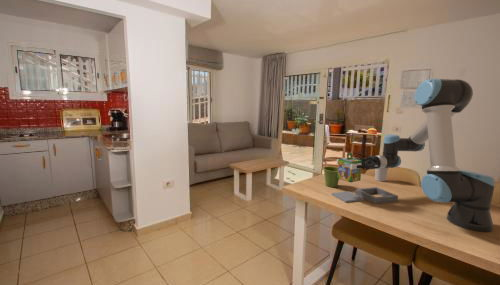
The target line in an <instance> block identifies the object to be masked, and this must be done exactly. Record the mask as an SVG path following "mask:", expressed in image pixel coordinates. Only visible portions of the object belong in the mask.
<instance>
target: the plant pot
mask: <svg viewBox="0 0 500 285" xmlns="http://www.w3.org/2000/svg"><path fill="white" fill-rule="evenodd" d="M322 169H323V172H324V182H325V186H327V187H331V188H337V187H338V185H339V180H340V179H337V174H338V166H337V167H336V166H324V167H322Z"/></svg>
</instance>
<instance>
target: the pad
mask: <svg viewBox="0 0 500 285" xmlns="http://www.w3.org/2000/svg"><path fill="white" fill-rule="evenodd" d="M331 195H332V196H333V197H335V198H336V199H339V200H340V201H342V202H343V203H354V202H360V201H361V202H363V201H365V198H363V197H361V196H358V195H356V194H355V193H354V192H351V191H338V192H332V193H331Z"/></svg>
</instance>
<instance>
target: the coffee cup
mask: <svg viewBox="0 0 500 285" xmlns="http://www.w3.org/2000/svg"><path fill="white" fill-rule="evenodd" d="M388 171H389V168H380V169H374V172H375V173H374V180H375V181H377V182H381V181H385V182H386V181H387V180H386V179H387V175H388Z"/></svg>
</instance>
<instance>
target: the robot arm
mask: <svg viewBox="0 0 500 285" xmlns="http://www.w3.org/2000/svg"><path fill="white" fill-rule="evenodd" d="M473 95H474V92H473V88H472V86H471V84H469V82H468V81H465V80H463V79H450V78H446V79H445V78H444V79H443V78H429V79H426V80H424V81H422V82H420V83H419V85H418V86H417V88H416V89H415V92H414V102H415V103H416V104H417V105H418V106H421V111H422V112H423V113H424V114H426V119H425V120H424V121H423V122H422V123H421V124H420V125H419V126H418V127H417V128H416V129H415V130H414V132H412V134H411V135H410V136H409V137H407V138H406V137H405V138H404V137H401V136H400V135H399V134H388V133H387V134H385V136H384V139H383V147H382V148H383V149H382V154H380V155H379V154H378V155H369V156H367V157H366V158H361V157H353V158H354V159H358V160H362V164H361V163H360V164H351V168H350V169H361V170H367V171H368V170H375V169H380V168H388V169H390V168H391V169H393V168H397V167H399V166H400V165H401V164H402V159H401V156H399V155H398V153H399V152H421V151H423V150H424V149H425V146H426V141H428V149H429V162H430V167H429V168H428V169H426V174H425V175H424V176H423V177H422V178H421V181H420V185H421V190H422V192H423V193H424V195H425V196H426V197H427V198H428V199H429V200H431V201H433V202H437V203H453V204H452V205H451V207H450V208H449V210H448V212H447V214H446V220H448V222H450V223H452V224H454V225H455V226H457V227H461V228H464V229H466V230H471V231H476V232H485V233H487V232H488V233H489V232H492V231H493V229H494V221H493V218H492V214H491V207H492V201H493V197H494V196H493V195H494V191H495V188H496V185H495V183H496V180H495V178H494V177H493V176H491V175H487V174H484V173H480V172H475V171H471V170H463V169H462V170H461V169H460V168H458V167H457V166H456V165H457V164H456V163H457V162H456V152H455V143H454V141H455V140H454V133H453V131H454V130H453V121H452V117H454V115H455V114H460V113H461V112H462V111H464V109H465V108H467V106H468V105H469V104H470V102H471V100H472V98H473ZM339 159H340V158H337V159H336V165H338V160H339Z"/></svg>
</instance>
